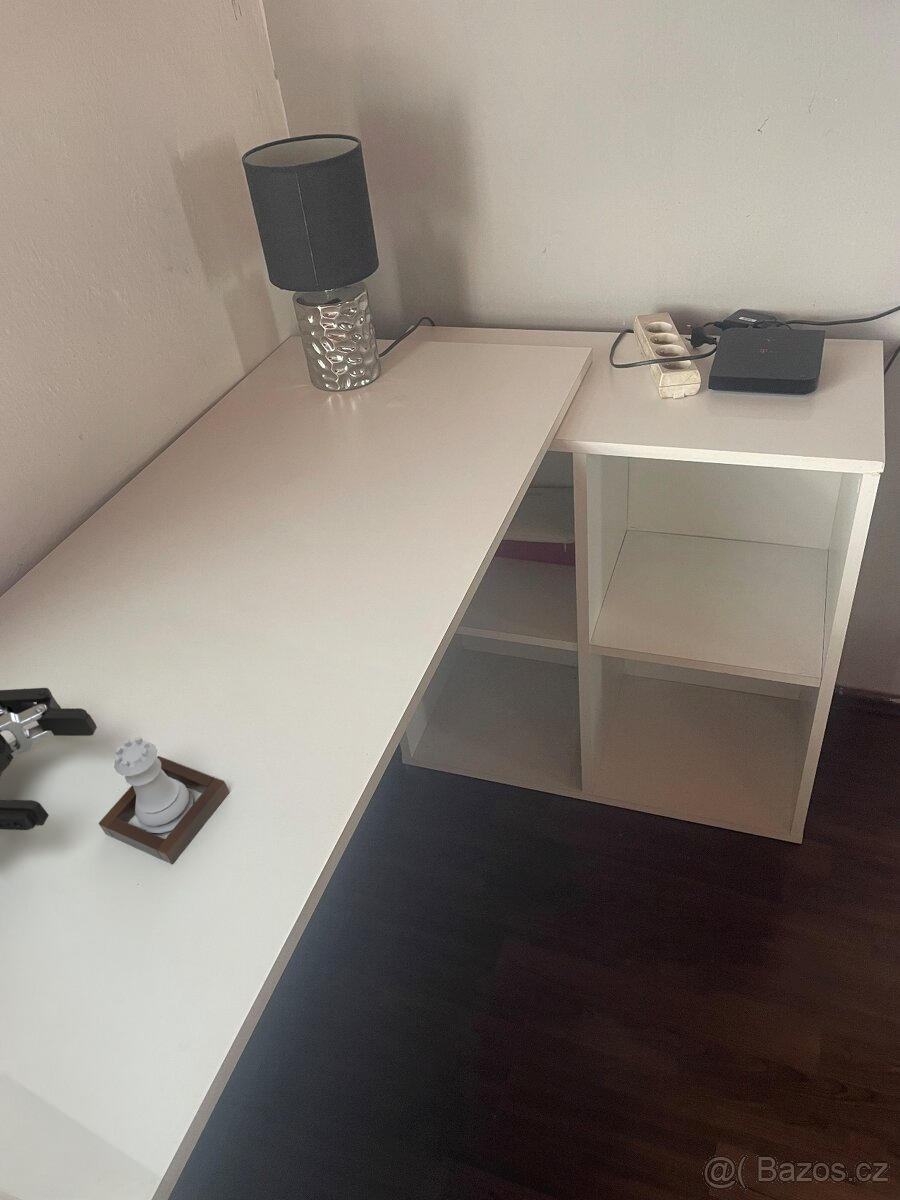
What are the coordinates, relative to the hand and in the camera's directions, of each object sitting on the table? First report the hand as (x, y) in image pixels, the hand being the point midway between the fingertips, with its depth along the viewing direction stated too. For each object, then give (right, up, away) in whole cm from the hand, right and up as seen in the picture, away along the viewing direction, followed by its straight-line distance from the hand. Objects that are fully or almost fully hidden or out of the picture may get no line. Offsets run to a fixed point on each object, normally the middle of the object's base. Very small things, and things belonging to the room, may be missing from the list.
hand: (68, 766), depth 67 cm
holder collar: (+7, -4, +3) cm, 9 cm away
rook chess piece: (+7, -4, +3) cm, 9 cm away
